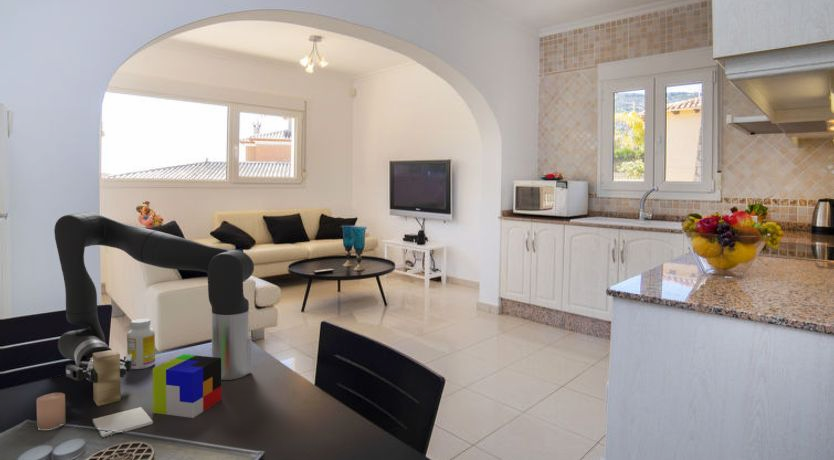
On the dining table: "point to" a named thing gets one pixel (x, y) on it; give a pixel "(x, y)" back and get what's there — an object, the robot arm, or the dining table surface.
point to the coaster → (123, 421)
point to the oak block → (107, 377)
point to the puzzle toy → (186, 385)
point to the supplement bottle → (141, 344)
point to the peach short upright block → (50, 410)
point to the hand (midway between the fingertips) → (109, 375)
